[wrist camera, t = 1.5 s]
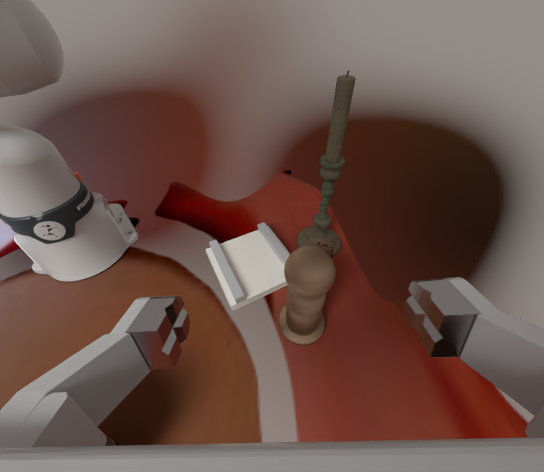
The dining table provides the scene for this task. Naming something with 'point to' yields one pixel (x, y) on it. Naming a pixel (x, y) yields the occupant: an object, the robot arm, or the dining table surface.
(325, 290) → the tan wooden upright piece
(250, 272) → the tray
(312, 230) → the candlestick holder
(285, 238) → the dining table surface
